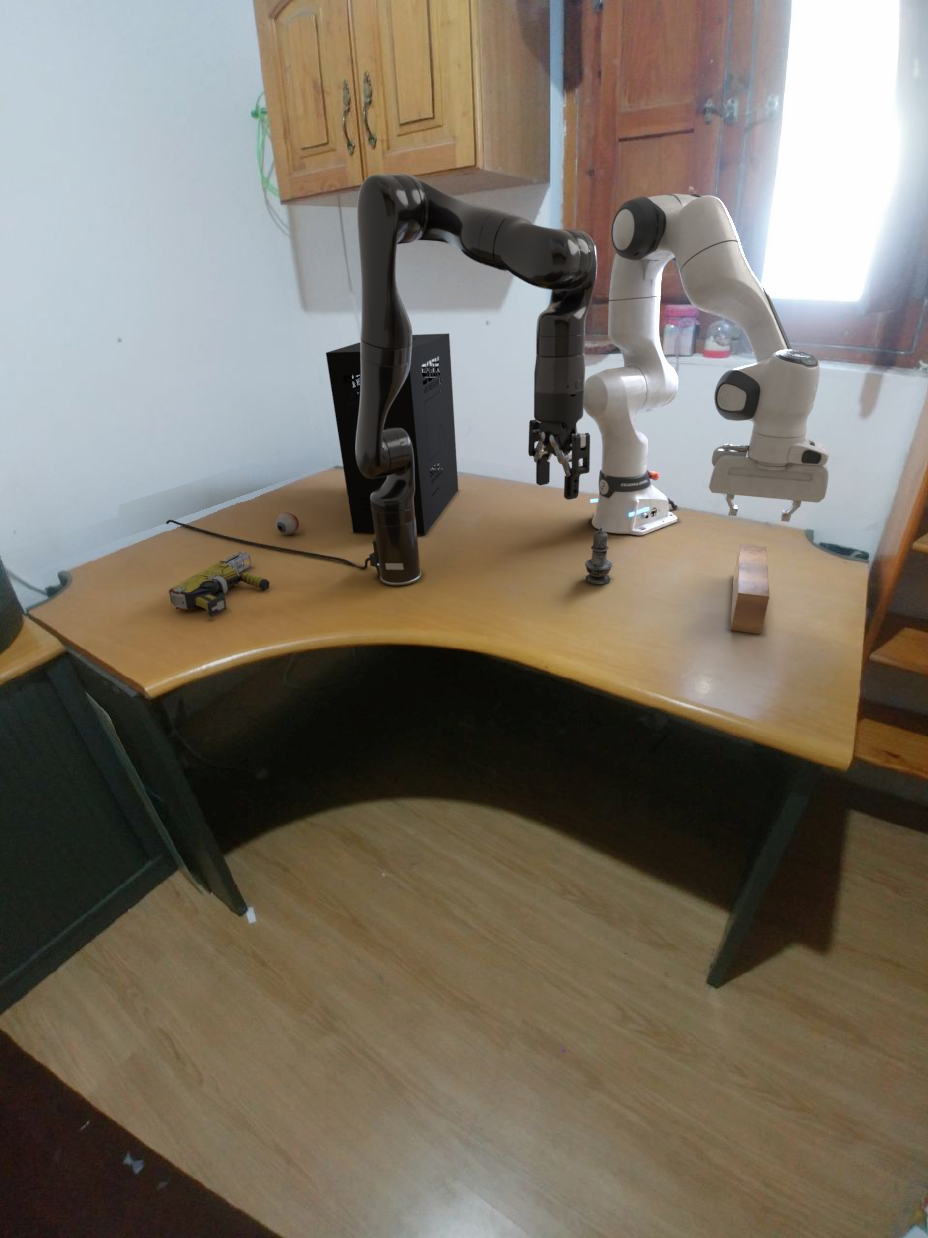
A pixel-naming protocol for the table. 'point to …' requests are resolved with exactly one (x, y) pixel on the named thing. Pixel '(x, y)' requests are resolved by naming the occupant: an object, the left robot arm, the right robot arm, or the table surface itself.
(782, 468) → the right robot arm
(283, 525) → the eyeball
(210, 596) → the toy gun
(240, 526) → the table surface
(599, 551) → the dark grey chess piece
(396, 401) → the cardboard box
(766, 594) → the bar
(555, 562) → the table surface
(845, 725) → the table surface
